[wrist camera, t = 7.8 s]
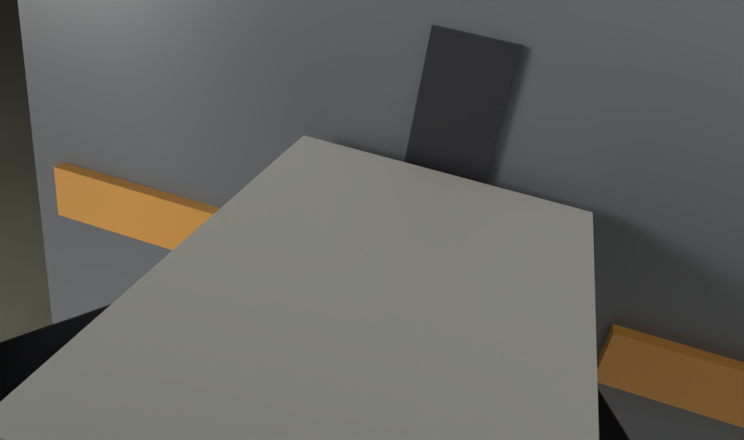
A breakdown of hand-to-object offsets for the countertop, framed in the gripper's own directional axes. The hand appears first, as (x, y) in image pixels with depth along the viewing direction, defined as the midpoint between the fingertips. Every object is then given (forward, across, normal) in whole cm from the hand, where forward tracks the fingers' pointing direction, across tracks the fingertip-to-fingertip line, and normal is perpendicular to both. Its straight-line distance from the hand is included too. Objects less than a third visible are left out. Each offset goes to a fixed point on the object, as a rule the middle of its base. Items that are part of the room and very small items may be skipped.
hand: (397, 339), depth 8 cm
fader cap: (+1, 0, 0) cm, 1 cm away
